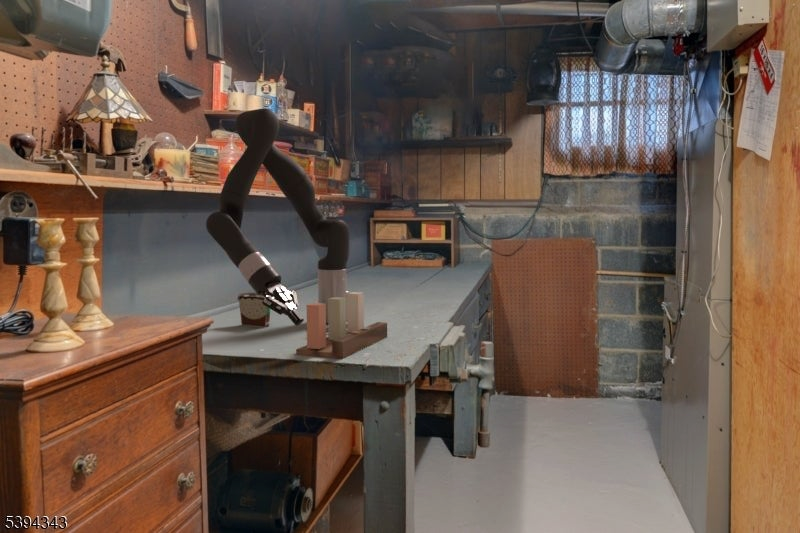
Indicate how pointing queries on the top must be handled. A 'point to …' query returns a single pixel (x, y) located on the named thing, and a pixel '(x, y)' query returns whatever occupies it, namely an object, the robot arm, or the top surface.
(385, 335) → the brown wooden base
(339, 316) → the sage key
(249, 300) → the food container
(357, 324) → the tan upright block
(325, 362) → the top surface
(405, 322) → the top surface
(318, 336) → the terracotta key
